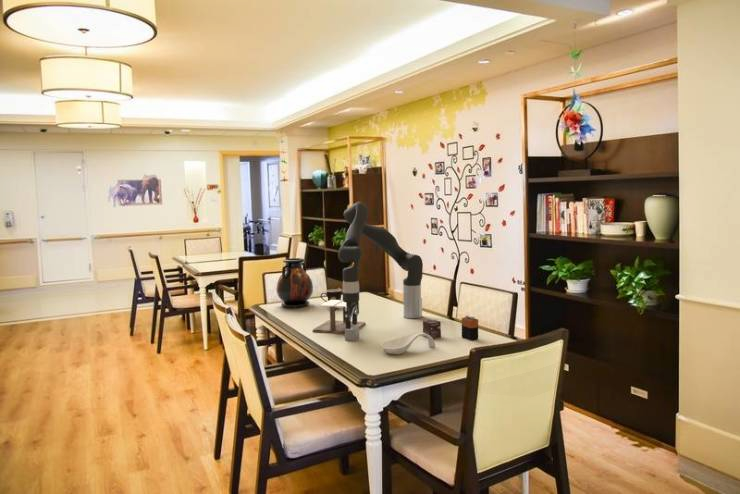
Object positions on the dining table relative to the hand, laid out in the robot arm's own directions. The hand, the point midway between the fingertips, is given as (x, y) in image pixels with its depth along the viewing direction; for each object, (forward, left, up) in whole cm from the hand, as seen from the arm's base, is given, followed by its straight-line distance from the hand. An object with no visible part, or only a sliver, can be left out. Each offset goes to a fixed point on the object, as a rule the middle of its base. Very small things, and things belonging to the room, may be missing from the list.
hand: (351, 326), depth 247 cm
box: (-34, -12, -6) cm, 37 cm away
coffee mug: (+35, -64, -6) cm, 73 cm away
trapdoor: (+13, -18, +6) cm, 23 cm away
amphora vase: (+58, -63, -6) cm, 86 cm away
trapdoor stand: (+13, -18, -6) cm, 23 cm away
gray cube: (0, 0, -6) cm, 6 cm away
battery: (-51, -13, -6) cm, 53 cm away
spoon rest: (-29, +11, -6) cm, 32 cm away
